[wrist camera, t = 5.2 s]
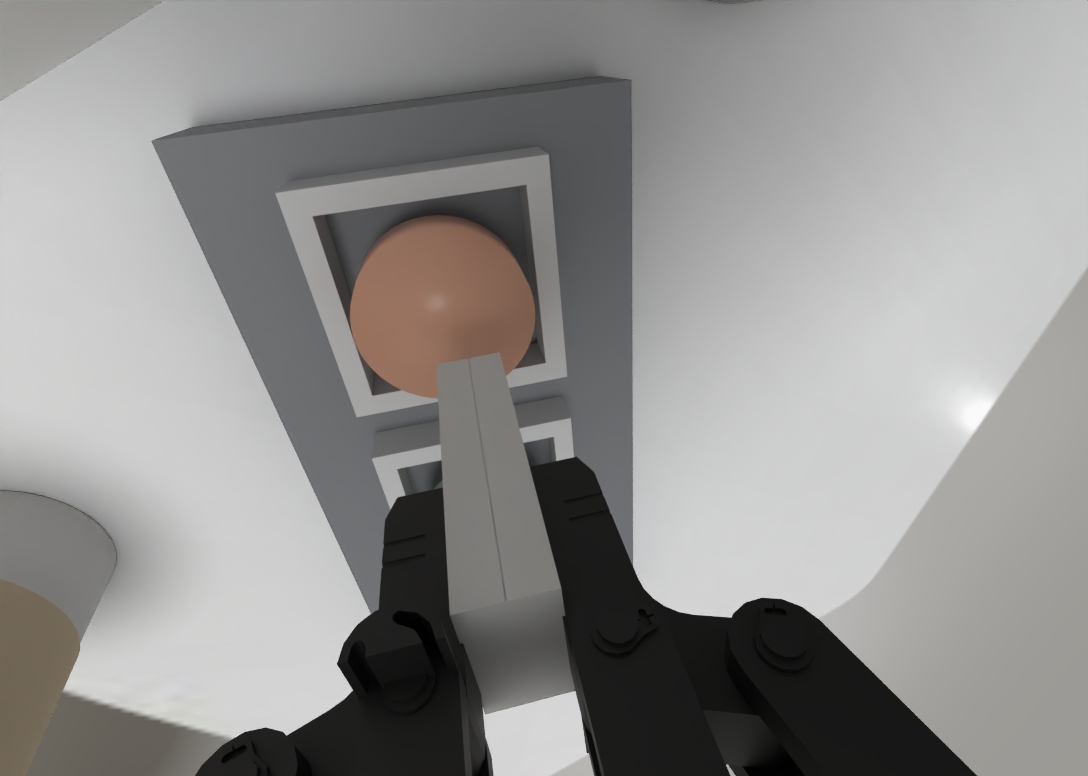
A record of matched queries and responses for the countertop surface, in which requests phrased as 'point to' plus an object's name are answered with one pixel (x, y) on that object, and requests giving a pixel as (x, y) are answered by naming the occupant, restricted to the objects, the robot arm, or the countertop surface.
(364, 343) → the button terracotta
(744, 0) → the supplement bottle
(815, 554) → the countertop surface
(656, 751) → the robot arm
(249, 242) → the panel
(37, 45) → the milk
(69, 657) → the coffee cup
